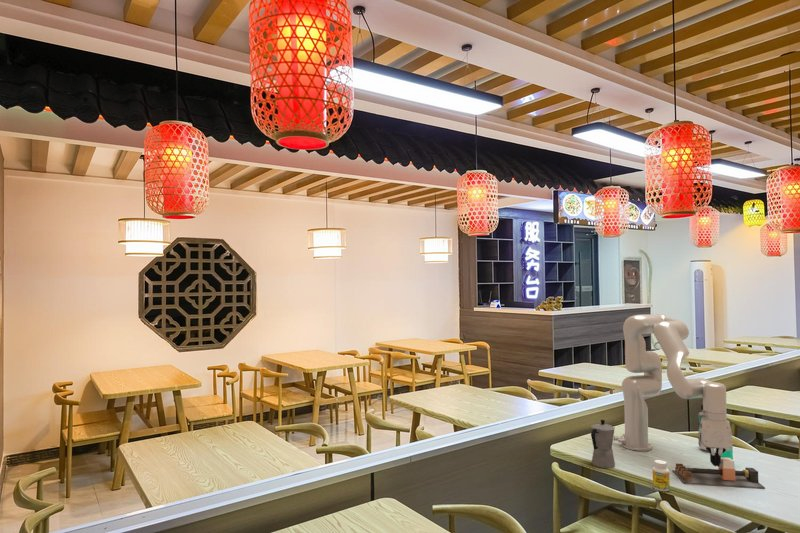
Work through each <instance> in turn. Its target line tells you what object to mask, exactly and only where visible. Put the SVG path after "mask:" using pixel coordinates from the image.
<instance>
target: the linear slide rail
mask: <svg viewBox="0 0 800 533" xmlns="http://www.w3.org/2000/svg"><path fill="white" fill-rule="evenodd" d="M672 473H673V474H674V476H676V477H677V478H678V479H679V481H680V482H681V483H682V484H683V485H694V486H695V485H696V486H698V485H699V486H710V487H712V486H714V487H725V488H727V487H728V488H740V489H741V488H742V489H743V488H744V489H757V490H759V489H760V490H766V487H765V486H764V485H762V483H760V482H759V471H758V470H756V469H755V468H754V467H745V469H742V470H736V469H735V481H732V480H723V479H722V478H721V477H720V476H719V475H722V470H719V469H718V468H716V469H714V468H702V467H701V468H698V467H697V468H696V467H686V466H685V465H684V464H683V463H680V462H679V463H678V462H677V463H675V467H674V469H672Z"/></svg>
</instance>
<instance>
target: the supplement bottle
mask: <svg viewBox="0 0 800 533" xmlns="http://www.w3.org/2000/svg"><path fill="white" fill-rule="evenodd" d="M653 463H654V466H653V467H652V487H653V489H654V490H656V491H660V492H668V491H670V488H671V487H670V486H671V485H670V483H671V482H670V469H669V468H668V464H667V463H668V462H667V461H665V460H662V459H655V460H654V462H653Z"/></svg>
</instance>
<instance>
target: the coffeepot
mask: <svg viewBox="0 0 800 533" xmlns="http://www.w3.org/2000/svg"><path fill="white" fill-rule="evenodd" d="M605 422H606V420H605V419H600V423H595V424H591V426H590V428H591V433H590V437H591V442H592V446H593V451H592V459H591V464H592V465H593V466H595V467H598V468H601V469H612V468H614V467H615V464H616V462H615V457H614V456H615V455H614V450H613V443H614V436H615V428H616V427H614V426H612V424H608V423H607V424H605Z"/></svg>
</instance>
